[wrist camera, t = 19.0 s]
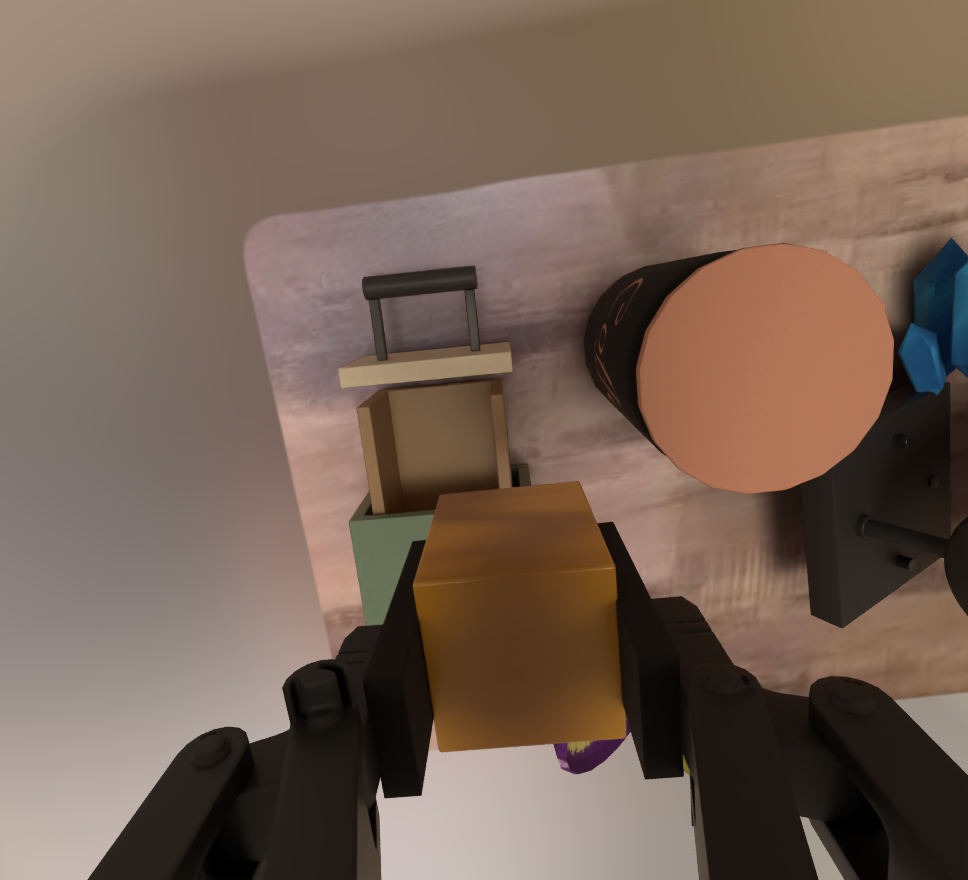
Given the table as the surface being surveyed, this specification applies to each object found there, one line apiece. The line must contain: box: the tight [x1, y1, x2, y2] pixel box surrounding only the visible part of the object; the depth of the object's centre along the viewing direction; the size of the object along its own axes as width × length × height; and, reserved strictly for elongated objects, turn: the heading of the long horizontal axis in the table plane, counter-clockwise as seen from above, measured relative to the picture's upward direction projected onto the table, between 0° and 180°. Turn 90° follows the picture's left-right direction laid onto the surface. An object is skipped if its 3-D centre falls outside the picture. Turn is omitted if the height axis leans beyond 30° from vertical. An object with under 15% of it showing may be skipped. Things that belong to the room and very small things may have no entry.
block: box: [413, 481, 627, 752], centre depth 16 cm, size 4×4×6 cm
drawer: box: [338, 266, 513, 515], centre depth 39 cm, size 18×10×7 cm, turn 6°
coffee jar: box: [584, 243, 894, 494], centre depth 33 cm, size 11×11×18 cm
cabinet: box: [349, 464, 531, 626], centre depth 42 cm, size 14×12×9 cm
